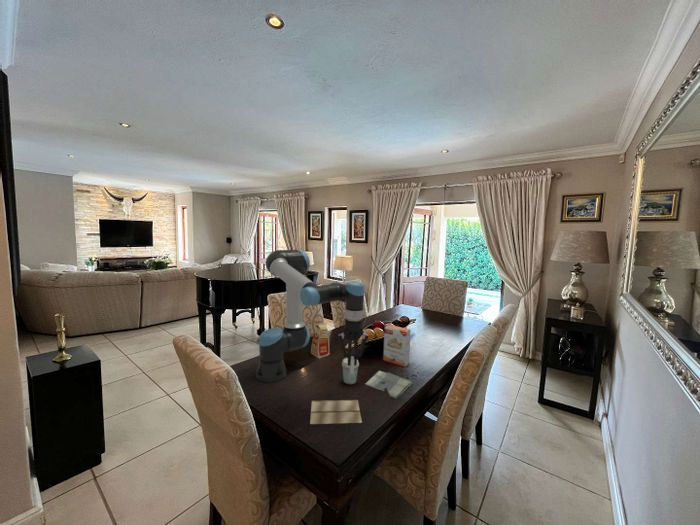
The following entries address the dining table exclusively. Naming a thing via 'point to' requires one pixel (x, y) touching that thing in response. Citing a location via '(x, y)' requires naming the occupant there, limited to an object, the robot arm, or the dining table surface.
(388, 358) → the cracker box
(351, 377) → the coffee cup
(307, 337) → the robot arm
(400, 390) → the dish towel
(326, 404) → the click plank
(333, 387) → the dining table surface
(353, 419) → the laid plank
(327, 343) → the milk carton
